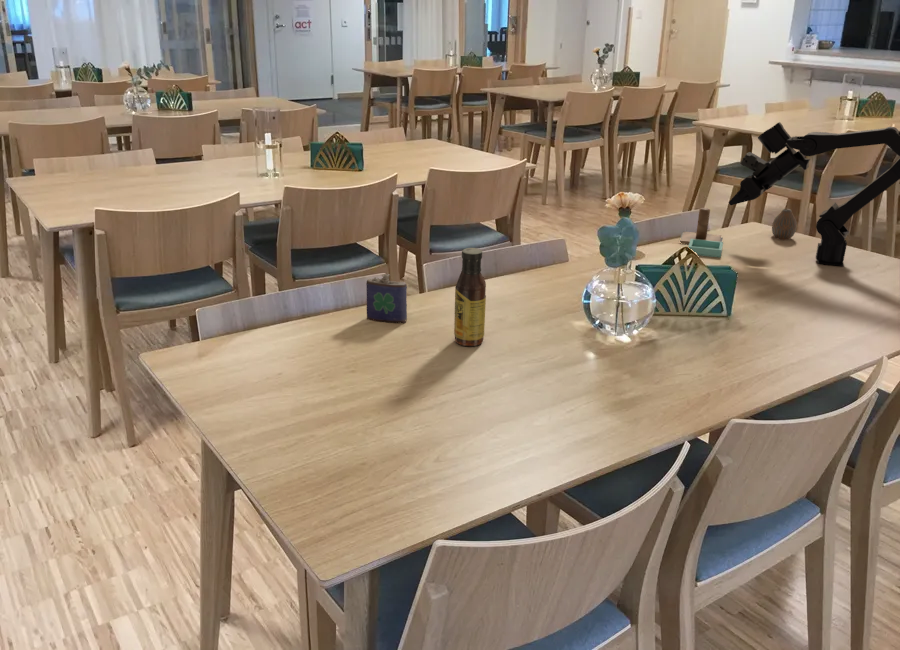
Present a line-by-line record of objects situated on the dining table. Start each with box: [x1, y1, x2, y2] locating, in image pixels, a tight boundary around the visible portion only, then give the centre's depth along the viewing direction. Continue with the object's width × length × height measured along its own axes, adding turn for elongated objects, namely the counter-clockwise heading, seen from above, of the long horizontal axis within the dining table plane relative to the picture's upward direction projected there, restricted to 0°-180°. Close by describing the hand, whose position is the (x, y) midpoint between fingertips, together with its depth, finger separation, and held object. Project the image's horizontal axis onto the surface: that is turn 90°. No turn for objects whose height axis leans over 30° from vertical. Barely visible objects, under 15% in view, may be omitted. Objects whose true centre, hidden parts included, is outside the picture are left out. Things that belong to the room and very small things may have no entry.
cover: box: [679, 207, 722, 245], centre depth 238 cm, size 11×11×10 cm
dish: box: [687, 239, 724, 259], centre depth 229 cm, size 9×9×2 cm
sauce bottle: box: [453, 247, 487, 347], centre depth 163 cm, size 6×6×20 cm
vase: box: [771, 208, 798, 241], centre depth 244 cm, size 7×7×9 cm
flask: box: [365, 273, 408, 324], centre depth 176 cm, size 9×3×11 cm, turn 74°
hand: (733, 200), depth 231 cm, fingers open, 9 cm apart
